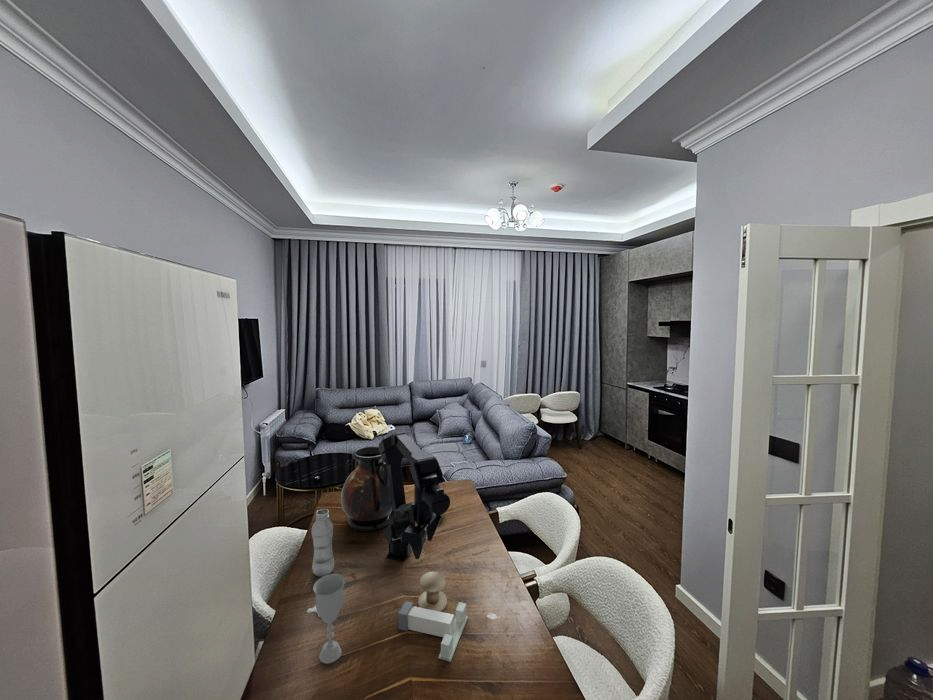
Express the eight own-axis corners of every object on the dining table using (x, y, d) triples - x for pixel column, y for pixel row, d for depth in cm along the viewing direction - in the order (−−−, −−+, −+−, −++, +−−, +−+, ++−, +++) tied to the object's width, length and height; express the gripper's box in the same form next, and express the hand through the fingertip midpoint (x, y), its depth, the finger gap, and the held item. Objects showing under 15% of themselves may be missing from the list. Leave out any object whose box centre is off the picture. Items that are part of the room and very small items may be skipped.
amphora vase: (409, 517, 156) (410, 449, 153) (369, 544, 138) (368, 467, 135) (370, 502, 168) (370, 438, 165) (328, 525, 149) (327, 453, 146)
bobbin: (413, 609, 108) (413, 586, 108) (425, 590, 116) (425, 568, 115) (440, 617, 106) (441, 592, 105) (450, 596, 114) (451, 573, 113)
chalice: (327, 672, 89) (326, 599, 87) (308, 658, 93) (306, 587, 91) (352, 649, 95) (351, 580, 93) (333, 636, 99) (332, 569, 97)
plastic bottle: (339, 568, 125) (338, 508, 123) (324, 582, 118) (323, 519, 116) (322, 563, 127) (321, 504, 125) (307, 577, 120) (306, 515, 118)
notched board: (438, 658, 93) (438, 643, 93) (457, 615, 107) (457, 601, 106) (450, 662, 93) (450, 646, 92) (467, 617, 106) (468, 604, 105)
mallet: (455, 627, 102) (454, 611, 101) (449, 640, 98) (449, 624, 97) (406, 616, 106) (405, 601, 106) (398, 629, 102) (397, 613, 101)
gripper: (412, 481, 126) (412, 527, 127) (383, 509, 108) (383, 563, 109) (445, 486, 122) (444, 534, 124) (421, 516, 105) (420, 571, 106)
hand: (423, 549), depth 116 cm, fingers open, 9 cm apart
